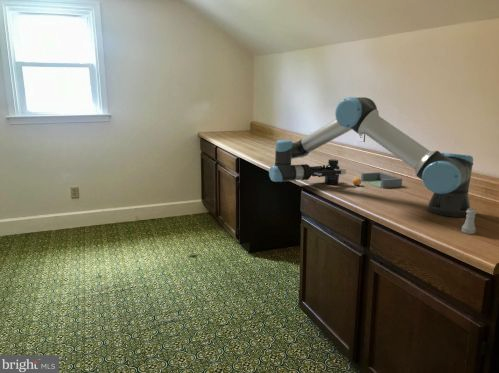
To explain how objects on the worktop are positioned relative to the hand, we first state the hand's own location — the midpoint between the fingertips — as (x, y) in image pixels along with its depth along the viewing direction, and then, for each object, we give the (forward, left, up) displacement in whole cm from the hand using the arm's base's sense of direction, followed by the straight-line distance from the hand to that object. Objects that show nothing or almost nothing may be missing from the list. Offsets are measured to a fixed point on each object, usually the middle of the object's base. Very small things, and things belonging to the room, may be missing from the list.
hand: (340, 170), depth 206 cm
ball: (-1, -8, -7) cm, 11 cm away
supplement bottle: (-4, +4, -7) cm, 8 cm away
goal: (+8, -18, -7) cm, 21 cm away
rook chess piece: (-54, -53, -7) cm, 77 cm away
